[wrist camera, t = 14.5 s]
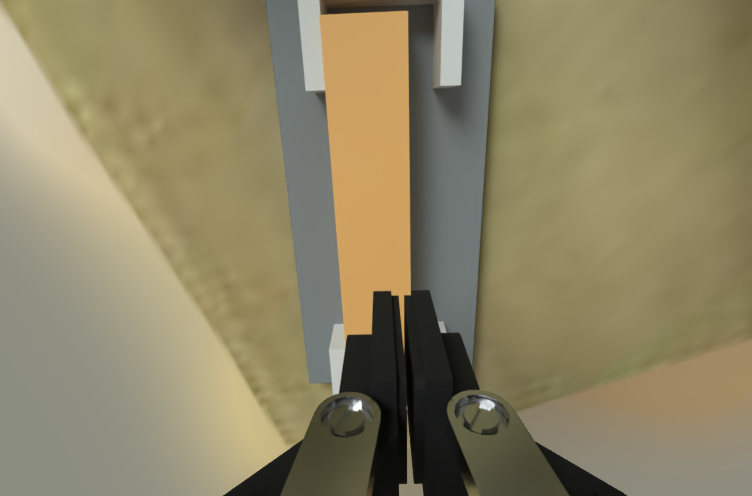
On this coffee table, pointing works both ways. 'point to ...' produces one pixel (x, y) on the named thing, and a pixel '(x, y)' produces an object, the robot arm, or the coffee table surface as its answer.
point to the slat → (369, 157)
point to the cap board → (426, 152)
